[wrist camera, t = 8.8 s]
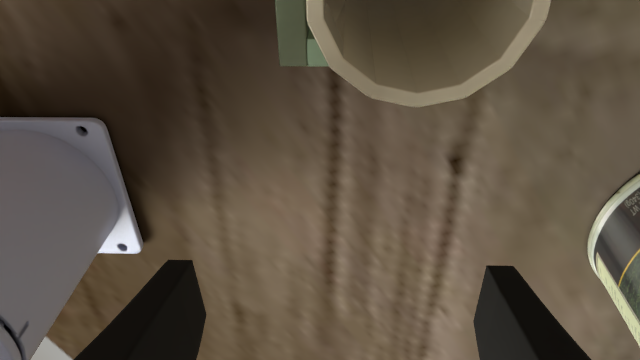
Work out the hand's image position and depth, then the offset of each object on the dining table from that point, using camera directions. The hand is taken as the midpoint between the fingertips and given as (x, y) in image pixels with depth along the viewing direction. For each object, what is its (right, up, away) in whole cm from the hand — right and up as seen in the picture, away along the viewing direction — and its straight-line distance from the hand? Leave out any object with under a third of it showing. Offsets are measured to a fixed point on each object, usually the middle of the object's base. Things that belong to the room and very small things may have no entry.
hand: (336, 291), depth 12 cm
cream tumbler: (+2, +11, +5) cm, 12 cm away
